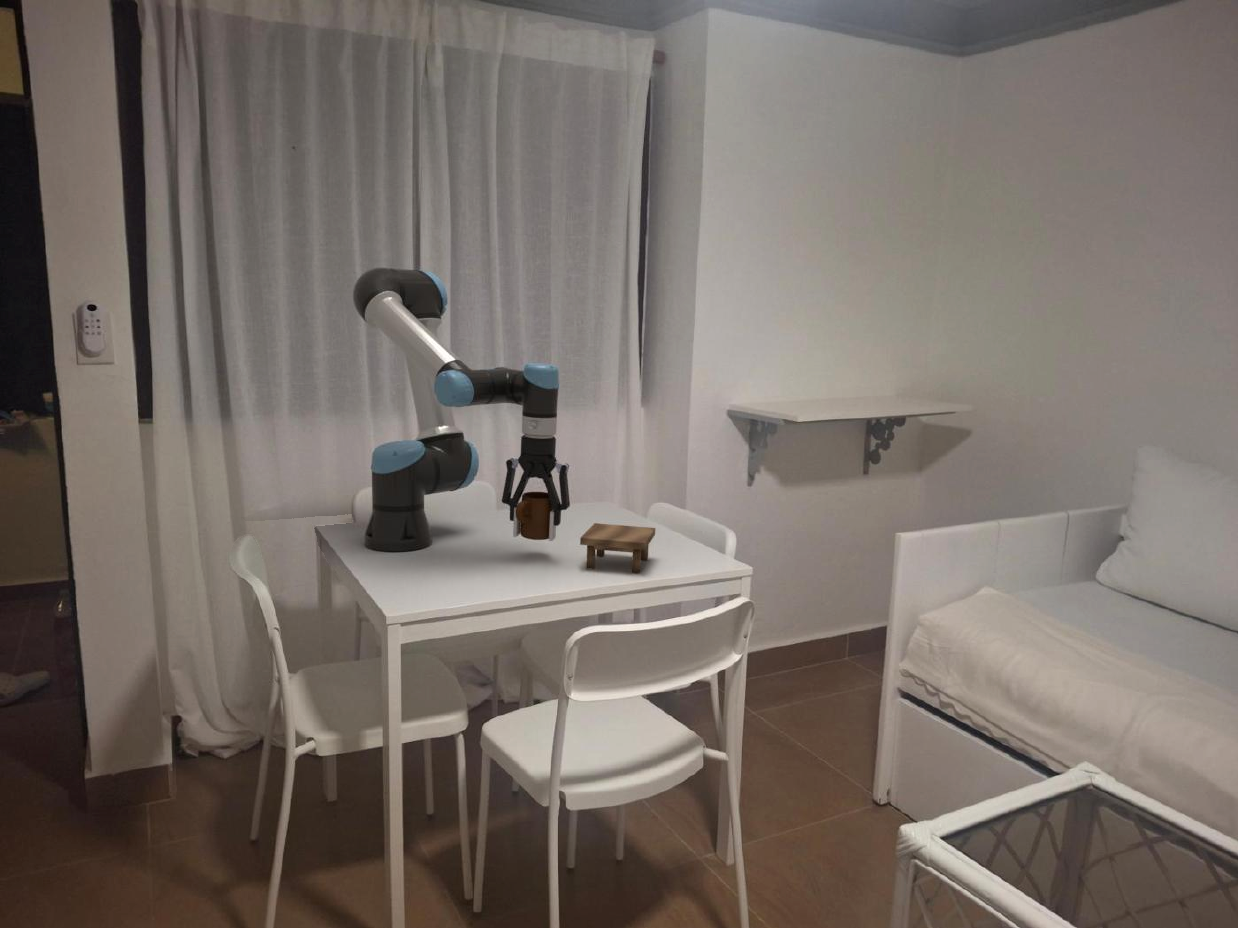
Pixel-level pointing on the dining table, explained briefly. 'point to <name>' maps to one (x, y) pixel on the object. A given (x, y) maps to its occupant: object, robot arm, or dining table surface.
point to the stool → (617, 542)
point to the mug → (534, 515)
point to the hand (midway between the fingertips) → (534, 537)
